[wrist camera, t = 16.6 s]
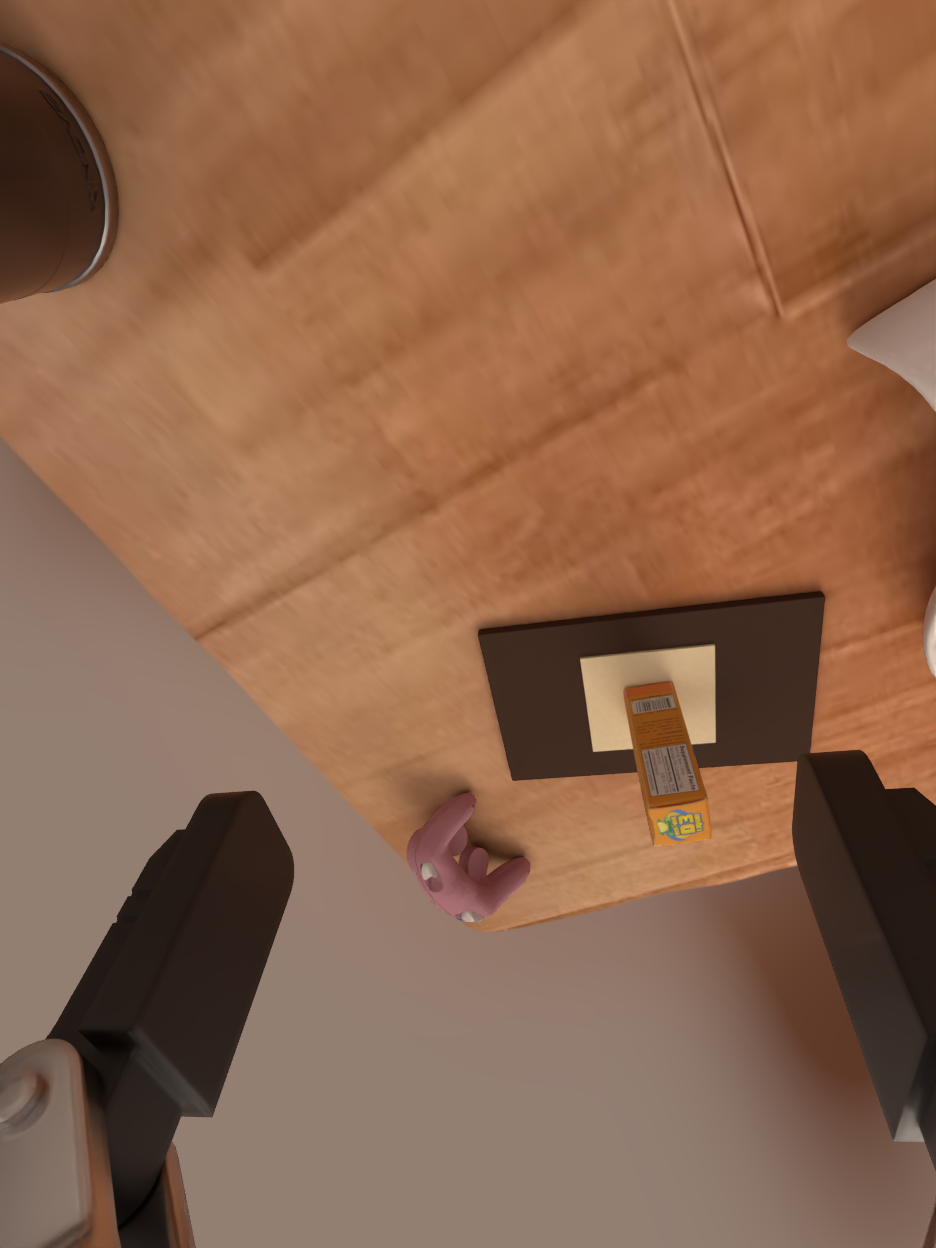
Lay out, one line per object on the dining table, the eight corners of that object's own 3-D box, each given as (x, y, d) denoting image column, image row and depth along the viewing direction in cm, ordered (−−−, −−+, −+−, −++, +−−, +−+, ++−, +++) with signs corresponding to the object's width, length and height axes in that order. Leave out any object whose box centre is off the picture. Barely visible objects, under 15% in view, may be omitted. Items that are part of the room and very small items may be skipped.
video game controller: (432, 783, 53) (384, 862, 49) (474, 788, 50) (427, 872, 46) (496, 857, 58) (457, 935, 54) (539, 865, 55) (500, 949, 51)
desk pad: (512, 775, 50) (512, 783, 49) (478, 629, 43) (477, 636, 42) (806, 754, 46) (810, 763, 45) (821, 590, 39) (826, 598, 38)
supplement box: (683, 716, 44) (714, 845, 36) (628, 723, 45) (647, 851, 37) (677, 676, 42) (709, 802, 34) (621, 684, 43) (639, 809, 35)
